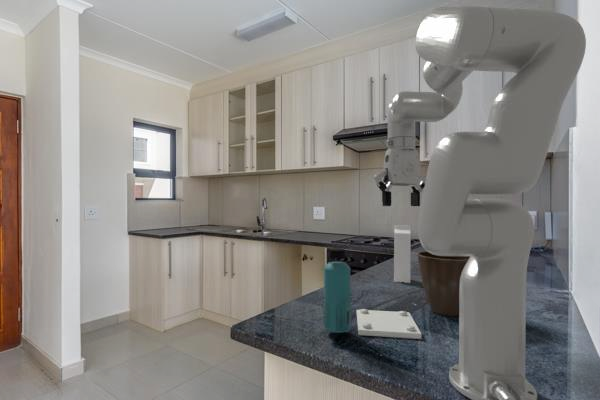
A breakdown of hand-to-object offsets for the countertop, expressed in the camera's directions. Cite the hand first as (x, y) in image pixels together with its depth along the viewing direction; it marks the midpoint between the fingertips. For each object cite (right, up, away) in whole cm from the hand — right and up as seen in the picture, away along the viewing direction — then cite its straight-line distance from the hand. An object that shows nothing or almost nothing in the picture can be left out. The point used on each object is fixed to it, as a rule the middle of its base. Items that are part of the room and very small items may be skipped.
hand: (401, 206), depth 91 cm
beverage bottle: (-20, -30, -15) cm, 39 cm away
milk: (+11, -30, +35) cm, 47 cm away
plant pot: (+13, -30, 0) cm, 33 cm away
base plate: (-7, -30, -10) cm, 32 cm away
